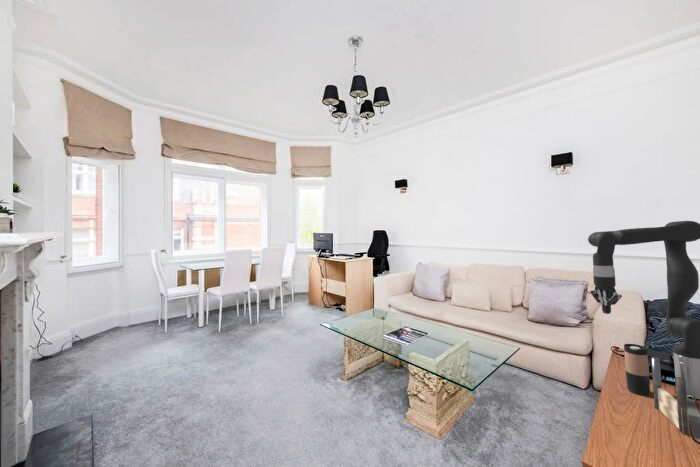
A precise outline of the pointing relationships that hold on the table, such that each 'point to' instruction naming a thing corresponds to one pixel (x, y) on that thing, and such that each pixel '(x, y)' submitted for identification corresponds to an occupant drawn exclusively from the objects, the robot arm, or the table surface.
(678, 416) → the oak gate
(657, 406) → the gate post
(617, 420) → the table surface
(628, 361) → the travel mug
